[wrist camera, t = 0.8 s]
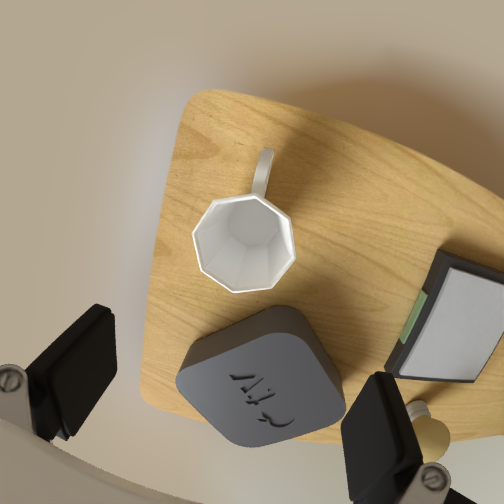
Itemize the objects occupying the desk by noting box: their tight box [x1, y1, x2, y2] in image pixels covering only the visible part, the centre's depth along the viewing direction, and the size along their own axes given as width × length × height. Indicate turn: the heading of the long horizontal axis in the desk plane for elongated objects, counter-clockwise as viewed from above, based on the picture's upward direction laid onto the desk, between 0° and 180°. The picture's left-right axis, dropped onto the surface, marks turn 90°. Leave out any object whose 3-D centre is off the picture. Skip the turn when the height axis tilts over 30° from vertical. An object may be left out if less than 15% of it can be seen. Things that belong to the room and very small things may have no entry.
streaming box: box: [176, 306, 346, 447], centre depth 30 cm, size 14×14×5 cm
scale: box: [384, 249, 504, 383], centre depth 27 cm, size 15×15×3 cm
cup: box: [192, 147, 296, 293], centre depth 23 cm, size 7×10×8 cm
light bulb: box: [406, 400, 450, 464], centre depth 28 cm, size 6×6×10 cm
